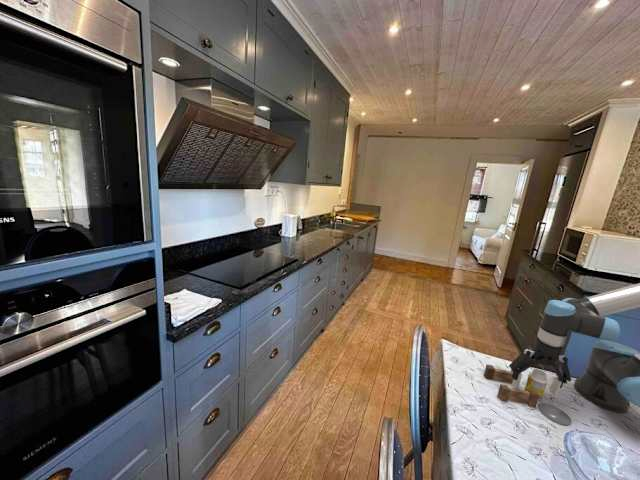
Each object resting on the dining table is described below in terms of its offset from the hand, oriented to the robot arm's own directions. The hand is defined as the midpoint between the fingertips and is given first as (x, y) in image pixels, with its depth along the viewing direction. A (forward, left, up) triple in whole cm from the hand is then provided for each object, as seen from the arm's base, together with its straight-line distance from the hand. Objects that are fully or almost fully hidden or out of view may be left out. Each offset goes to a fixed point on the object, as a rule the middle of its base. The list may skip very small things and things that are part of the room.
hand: (533, 390), depth 101 cm
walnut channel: (+9, 0, -2) cm, 9 cm away
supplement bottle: (0, 0, -2) cm, 2 cm away
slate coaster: (-2, +9, -2) cm, 9 cm away
